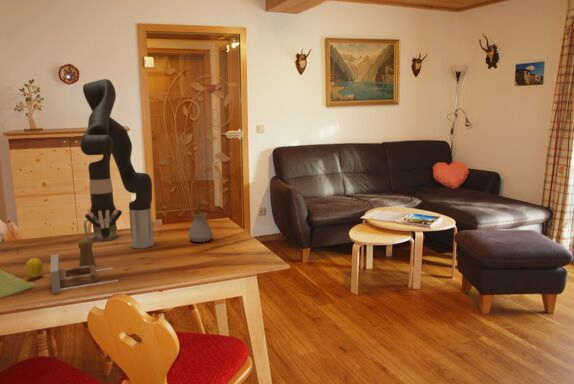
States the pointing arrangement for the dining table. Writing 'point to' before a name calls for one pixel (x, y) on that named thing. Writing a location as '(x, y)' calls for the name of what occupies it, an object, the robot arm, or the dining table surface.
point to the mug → (97, 230)
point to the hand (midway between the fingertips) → (105, 237)
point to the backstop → (56, 276)
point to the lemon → (34, 267)
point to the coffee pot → (200, 227)
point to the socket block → (78, 276)
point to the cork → (86, 253)
